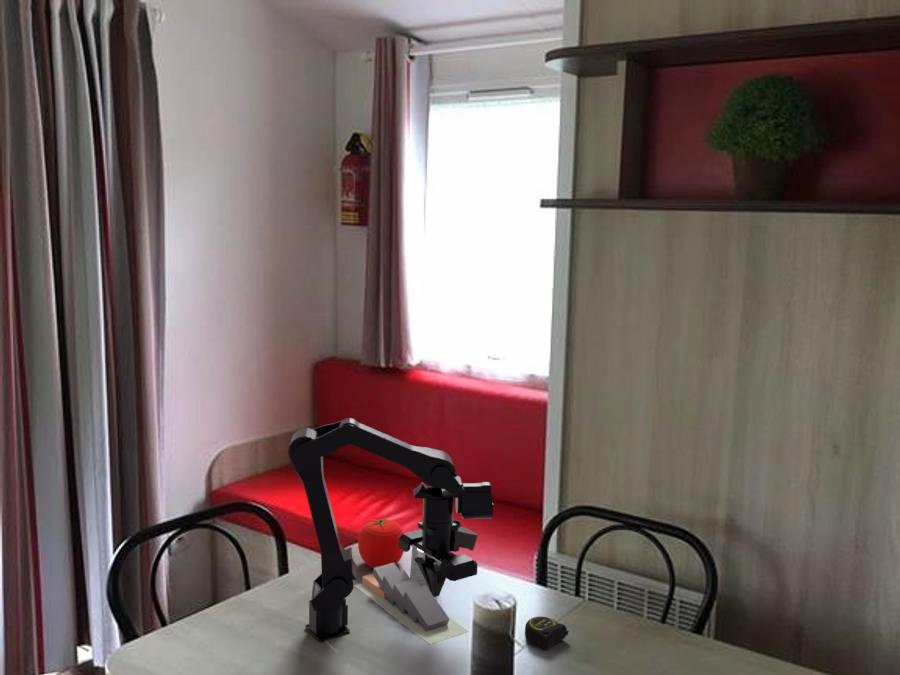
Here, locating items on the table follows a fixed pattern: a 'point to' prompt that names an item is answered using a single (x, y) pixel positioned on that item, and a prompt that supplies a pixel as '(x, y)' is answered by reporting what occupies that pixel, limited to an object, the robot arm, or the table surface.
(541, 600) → the table surface
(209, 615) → the table surface
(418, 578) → the supplement box
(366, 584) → the domino
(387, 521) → the tomato
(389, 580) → the domino
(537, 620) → the tape measure
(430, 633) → the runner
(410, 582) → the domino
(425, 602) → the domino
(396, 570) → the domino
